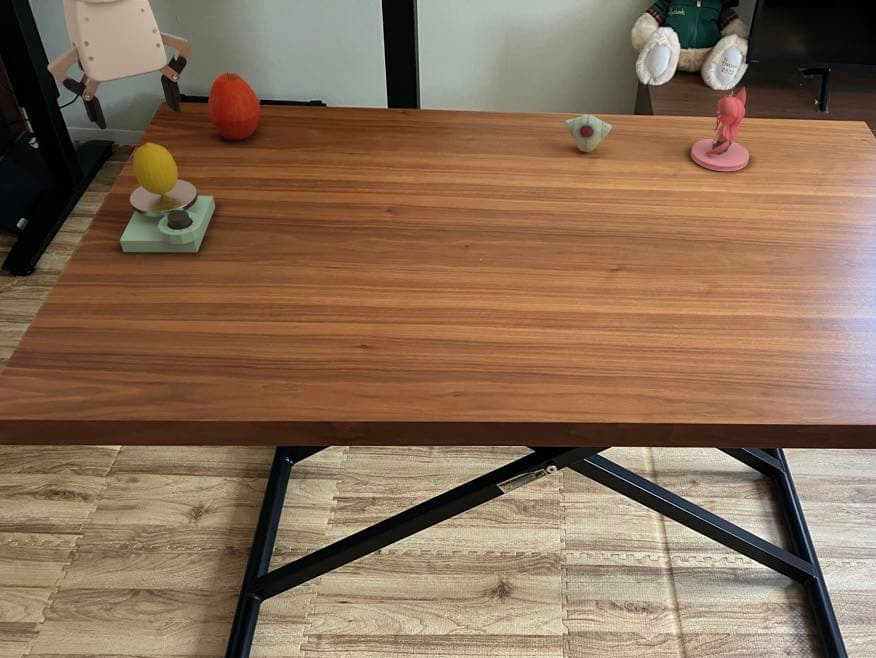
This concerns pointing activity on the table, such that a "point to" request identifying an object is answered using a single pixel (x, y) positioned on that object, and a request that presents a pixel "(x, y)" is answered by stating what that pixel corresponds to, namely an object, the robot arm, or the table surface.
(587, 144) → the robot head
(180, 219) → the tare button
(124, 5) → the robot arm
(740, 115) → the toy figure
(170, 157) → the lemon
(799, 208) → the table surface
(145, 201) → the scale weighing pan
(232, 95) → the apple
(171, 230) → the scale
